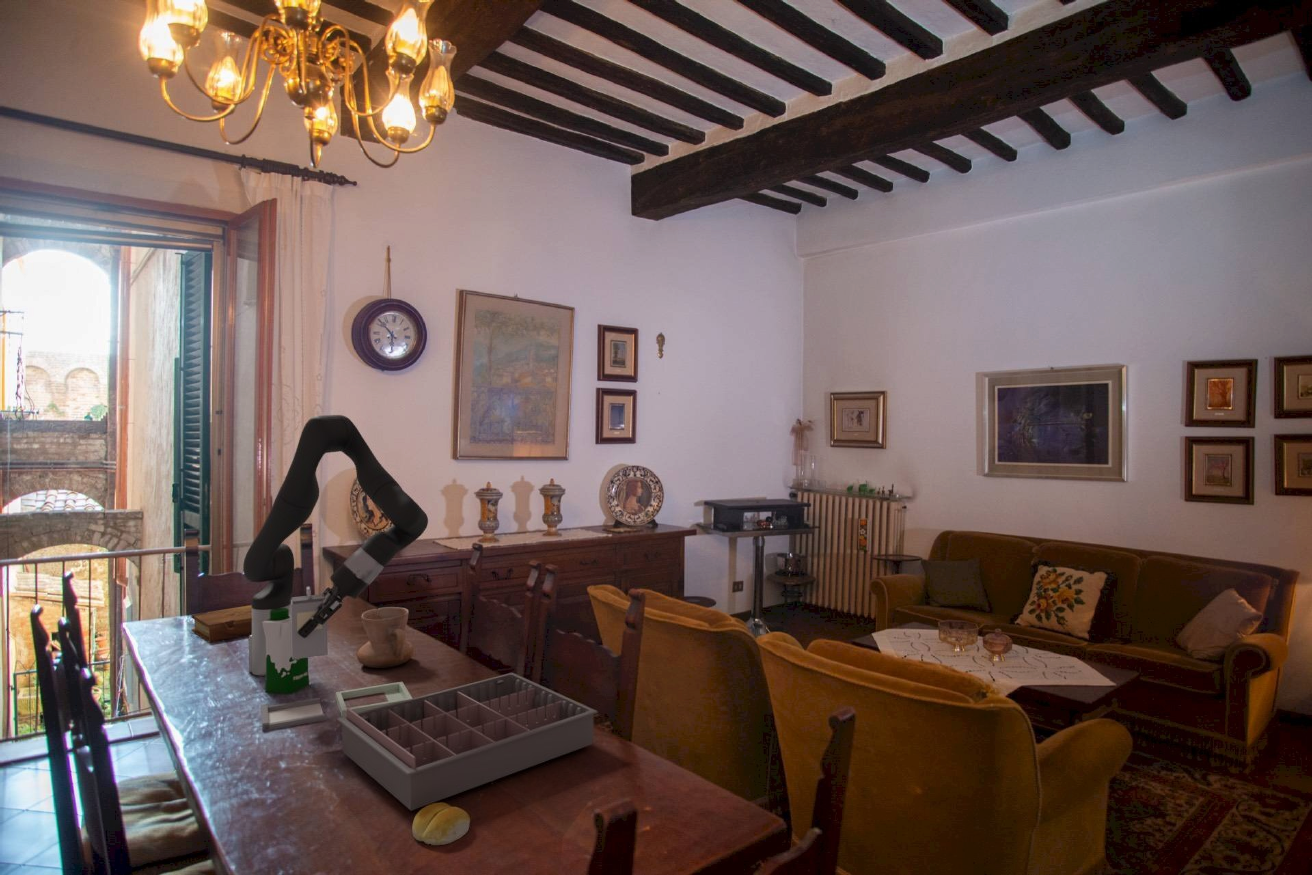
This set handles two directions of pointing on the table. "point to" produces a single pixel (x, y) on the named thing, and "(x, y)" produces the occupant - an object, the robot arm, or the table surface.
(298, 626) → the labeled grey carton
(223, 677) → the table surface
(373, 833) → the table surface
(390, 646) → the ceramic jug
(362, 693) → the tray
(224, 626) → the diary
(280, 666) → the milk carton
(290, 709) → the bay
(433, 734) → the organizer tray
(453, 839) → the bread roll
